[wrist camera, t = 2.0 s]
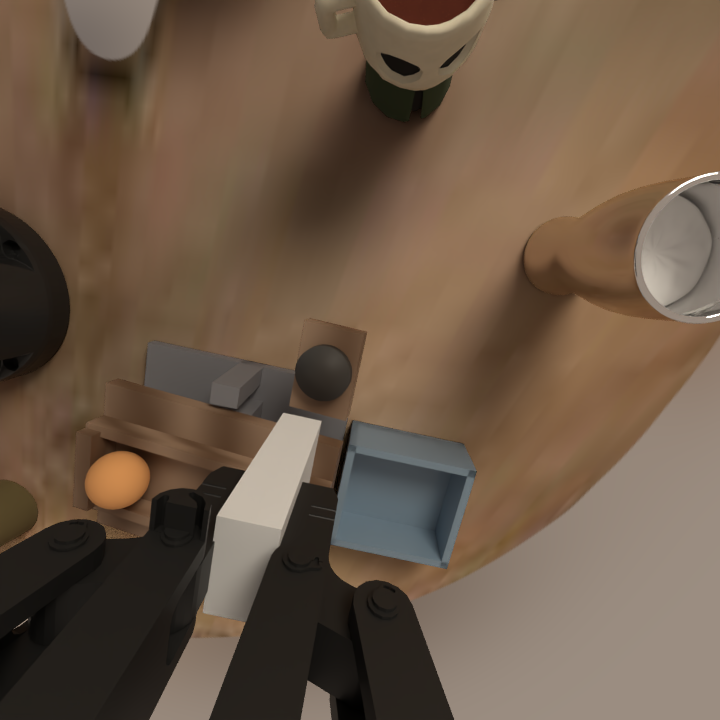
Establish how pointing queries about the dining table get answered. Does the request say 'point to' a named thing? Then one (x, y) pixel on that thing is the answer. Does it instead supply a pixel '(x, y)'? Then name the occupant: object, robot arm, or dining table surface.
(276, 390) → the lever base
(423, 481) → the cup
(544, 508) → the dining table surface
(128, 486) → the ball
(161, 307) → the dining table surface
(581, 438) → the dining table surface
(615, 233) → the beer glass
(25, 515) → the brown upright piece
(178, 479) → the tilt lever
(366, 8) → the character mug
